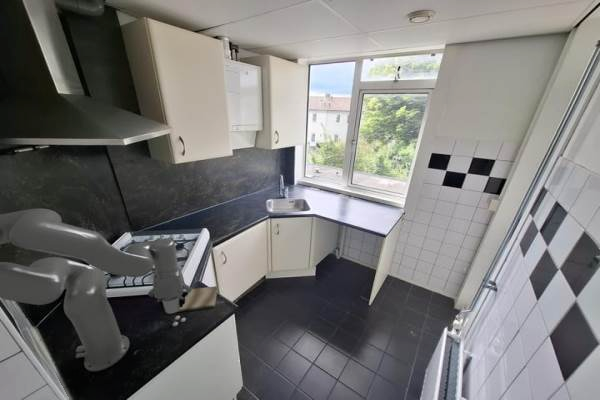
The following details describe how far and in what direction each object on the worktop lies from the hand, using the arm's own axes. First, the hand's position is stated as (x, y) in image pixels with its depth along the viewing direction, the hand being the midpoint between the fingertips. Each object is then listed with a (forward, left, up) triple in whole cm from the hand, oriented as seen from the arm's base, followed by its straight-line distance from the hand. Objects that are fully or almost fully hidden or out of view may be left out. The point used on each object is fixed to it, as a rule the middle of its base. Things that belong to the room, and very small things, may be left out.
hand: (172, 305), depth 91 cm
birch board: (+5, +11, -9) cm, 15 cm away
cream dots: (+1, 0, -9) cm, 9 cm away
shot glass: (0, 0, -1) cm, 1 cm away
